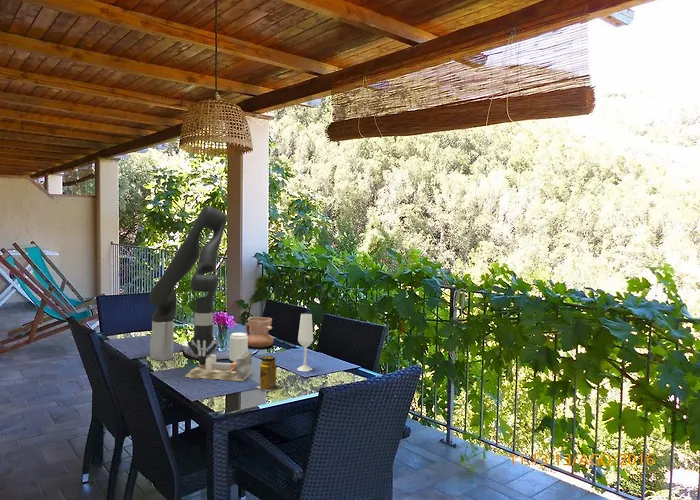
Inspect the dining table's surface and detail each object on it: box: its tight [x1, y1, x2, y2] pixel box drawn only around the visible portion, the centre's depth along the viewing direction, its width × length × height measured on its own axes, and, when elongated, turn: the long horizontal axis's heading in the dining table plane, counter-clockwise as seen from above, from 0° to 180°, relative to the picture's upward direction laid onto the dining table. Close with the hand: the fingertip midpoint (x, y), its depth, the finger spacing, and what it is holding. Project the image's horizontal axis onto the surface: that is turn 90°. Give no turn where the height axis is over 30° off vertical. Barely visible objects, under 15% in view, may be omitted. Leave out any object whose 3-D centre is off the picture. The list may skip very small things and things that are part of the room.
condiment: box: [256, 355, 284, 392], centre depth 212 cm, size 7×8×12 cm
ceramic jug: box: [245, 316, 275, 349], centre depth 276 cm, size 18×14×14 cm
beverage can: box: [228, 332, 249, 363], centre depth 249 cm, size 8×8×12 cm
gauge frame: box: [184, 351, 253, 382], centre depth 225 cm, size 24×12×9 cm, turn 85°
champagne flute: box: [296, 313, 314, 372], centre depth 237 cm, size 7×7×24 cm
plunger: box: [206, 354, 233, 371], centre depth 225 cm, size 10×7×6 cm
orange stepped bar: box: [230, 361, 236, 372], centre depth 223 cm, size 2×8×3 cm, turn 175°
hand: (202, 364), depth 225 cm, fingers closed
